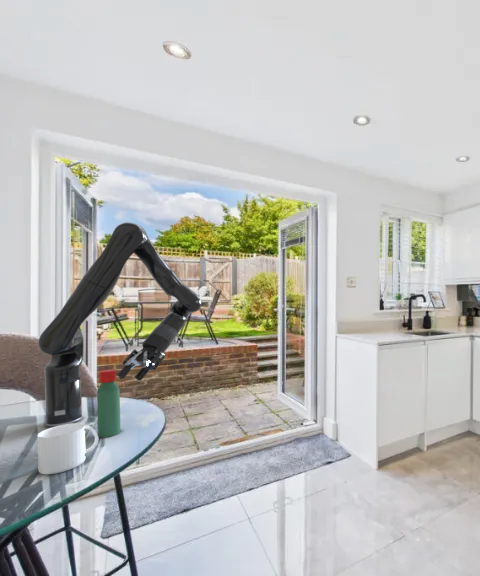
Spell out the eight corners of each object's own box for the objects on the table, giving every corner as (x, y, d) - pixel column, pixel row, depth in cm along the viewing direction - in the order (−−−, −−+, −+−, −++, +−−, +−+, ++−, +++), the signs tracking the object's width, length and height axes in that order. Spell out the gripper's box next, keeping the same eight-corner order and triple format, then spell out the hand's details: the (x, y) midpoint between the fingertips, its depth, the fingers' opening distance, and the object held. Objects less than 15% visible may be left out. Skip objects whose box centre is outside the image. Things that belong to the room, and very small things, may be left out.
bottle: (97, 433, 111) (95, 372, 111) (119, 428, 115) (117, 369, 114) (99, 439, 107) (97, 375, 107) (121, 433, 111) (120, 372, 110)
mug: (39, 479, 85) (38, 440, 84) (37, 466, 91) (36, 430, 91) (102, 460, 93) (101, 425, 93) (96, 449, 100) (95, 417, 99)
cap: (99, 381, 111) (99, 370, 111) (115, 378, 113) (114, 368, 113) (100, 383, 108) (100, 372, 108) (116, 380, 110) (116, 370, 110)
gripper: (139, 331, 127) (105, 370, 116) (167, 333, 122) (134, 374, 111) (154, 344, 132) (123, 382, 121) (181, 345, 127) (151, 386, 116)
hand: (128, 378), depth 116 cm, fingers open, 8 cm apart
